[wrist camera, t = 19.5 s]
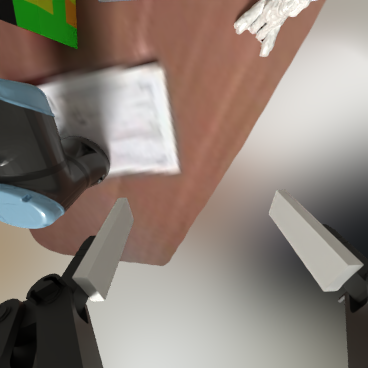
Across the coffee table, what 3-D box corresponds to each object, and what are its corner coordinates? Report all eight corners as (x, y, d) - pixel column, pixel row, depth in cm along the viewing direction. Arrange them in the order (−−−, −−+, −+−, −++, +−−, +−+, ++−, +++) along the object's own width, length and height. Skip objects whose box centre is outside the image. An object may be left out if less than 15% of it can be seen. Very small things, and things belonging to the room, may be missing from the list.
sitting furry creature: (230, 29, 31) (254, 0, 21) (261, -27, 27) (309, -96, 17) (262, 60, 34) (297, 47, 24) (294, 13, 30) (353, -26, 20)
